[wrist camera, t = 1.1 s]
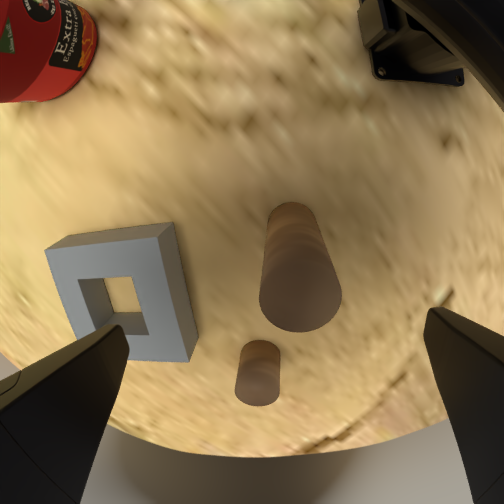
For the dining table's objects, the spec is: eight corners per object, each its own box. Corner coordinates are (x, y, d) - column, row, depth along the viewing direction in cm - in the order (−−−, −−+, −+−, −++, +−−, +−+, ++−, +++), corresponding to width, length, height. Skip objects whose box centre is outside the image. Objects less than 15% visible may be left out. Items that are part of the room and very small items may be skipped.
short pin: (278, 339, 23) (277, 375, 19) (281, 368, 24) (280, 405, 20) (238, 341, 23) (231, 377, 20) (243, 370, 24) (238, 406, 21)
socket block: (173, 222, 20) (157, 236, 17) (198, 337, 23) (189, 362, 21) (67, 235, 21) (44, 250, 18) (100, 335, 24) (84, 356, 22)
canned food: (111, 67, 17) (-12, 40, 6) (31, 121, 18) (-85, 140, 8) (90, -12, 14) (-10, -61, 4) (15, 45, 16) (-87, 37, 5)
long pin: (314, 200, 19) (341, 256, 11) (317, 246, 20) (340, 329, 12) (265, 204, 19) (254, 263, 11) (270, 250, 20) (263, 334, 12)
